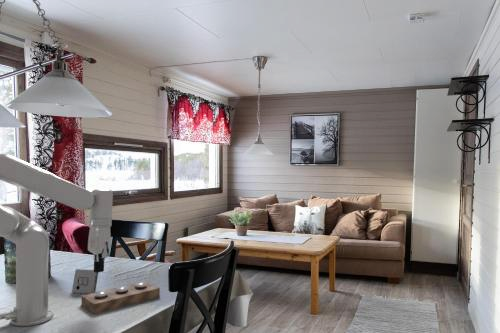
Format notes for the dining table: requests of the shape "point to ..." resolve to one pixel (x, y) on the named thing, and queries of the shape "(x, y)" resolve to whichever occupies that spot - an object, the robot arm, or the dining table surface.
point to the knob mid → (121, 289)
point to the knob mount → (119, 298)
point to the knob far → (140, 285)
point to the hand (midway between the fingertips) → (98, 271)
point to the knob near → (101, 294)
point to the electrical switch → (85, 281)
